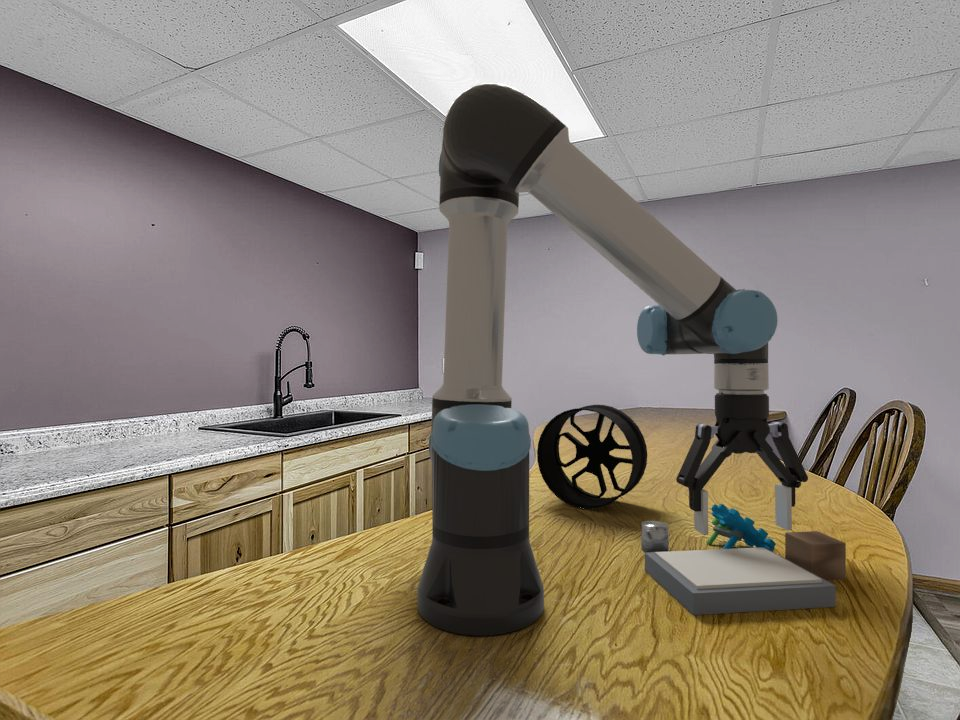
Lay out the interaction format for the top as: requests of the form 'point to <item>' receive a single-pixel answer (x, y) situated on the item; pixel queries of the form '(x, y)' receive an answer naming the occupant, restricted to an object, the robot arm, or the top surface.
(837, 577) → the walnut block
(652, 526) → the steel cylinder
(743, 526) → the gear
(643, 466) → the car wheel rim
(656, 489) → the top surface
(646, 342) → the robot arm
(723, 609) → the stand
